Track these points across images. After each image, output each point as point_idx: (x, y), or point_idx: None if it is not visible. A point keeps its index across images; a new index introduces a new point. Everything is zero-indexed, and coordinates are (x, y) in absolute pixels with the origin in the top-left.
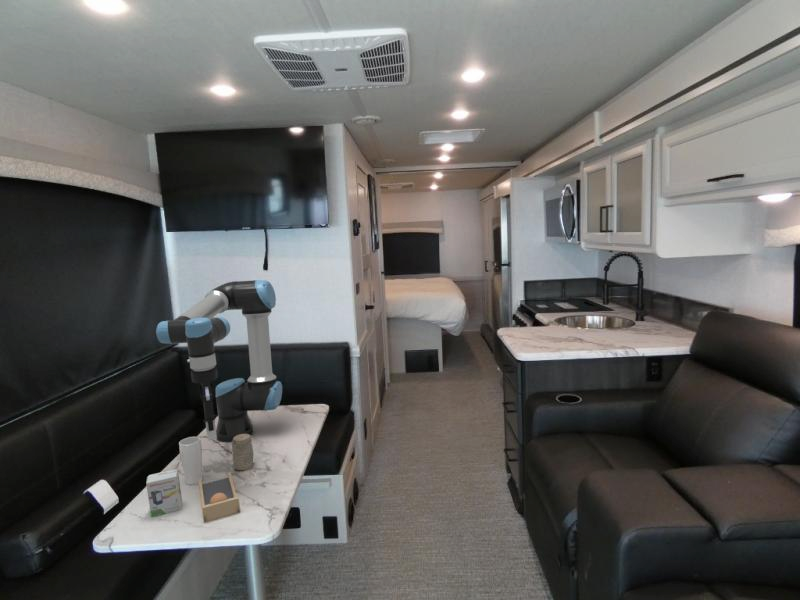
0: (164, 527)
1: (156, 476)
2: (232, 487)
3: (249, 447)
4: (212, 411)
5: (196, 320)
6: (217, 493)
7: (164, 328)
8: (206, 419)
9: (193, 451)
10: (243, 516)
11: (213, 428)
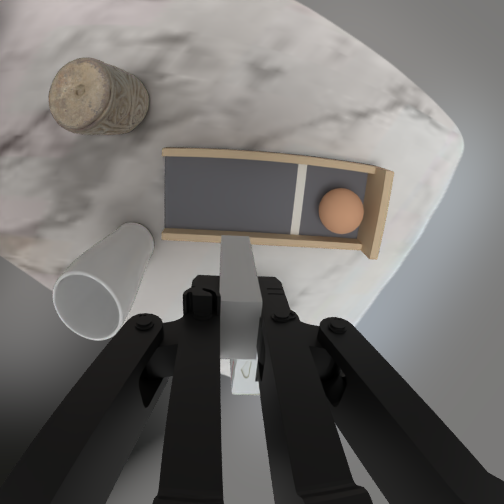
0: (314, 312)
1: (252, 380)
2: (272, 158)
3: (115, 72)
4: (400, 388)
5: None
6: (344, 217)
7: None
8: (343, 381)
9: (130, 287)
10: (387, 162)
11: (281, 285)
